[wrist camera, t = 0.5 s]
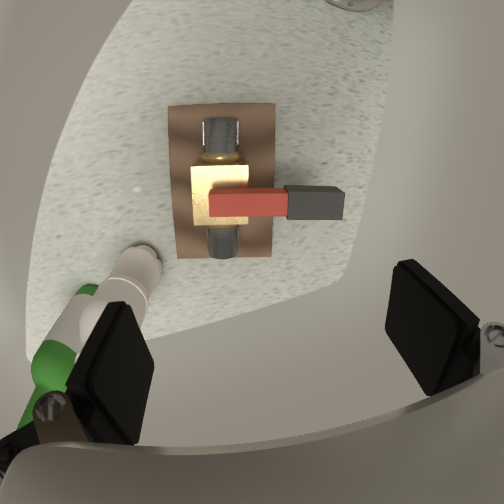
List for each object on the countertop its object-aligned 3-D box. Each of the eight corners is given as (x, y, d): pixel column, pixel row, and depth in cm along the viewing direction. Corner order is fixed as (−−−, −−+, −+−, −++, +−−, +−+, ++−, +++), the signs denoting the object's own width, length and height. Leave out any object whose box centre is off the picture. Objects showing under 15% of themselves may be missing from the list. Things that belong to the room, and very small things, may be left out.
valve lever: (210, 183, 32) (207, 192, 28) (332, 184, 33) (345, 192, 29) (211, 209, 33) (209, 221, 29) (330, 208, 34) (342, 220, 30)
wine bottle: (115, 289, 46) (44, 437, 19) (114, 322, 49) (60, 462, 22) (77, 277, 45) (-10, 408, 18) (79, 311, 48) (11, 438, 21)
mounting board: (170, 107, 35) (167, 106, 34) (273, 104, 36) (275, 103, 34) (179, 254, 44) (177, 258, 43) (270, 252, 45) (271, 256, 44)
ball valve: (196, 119, 35) (189, 118, 29) (245, 117, 35) (248, 116, 29) (201, 245, 42) (197, 266, 36) (245, 244, 43) (248, 265, 37)
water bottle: (123, 236, 42) (44, 344, 20) (167, 244, 43) (115, 366, 21) (122, 275, 45) (60, 391, 23) (163, 283, 46) (122, 411, 24)
